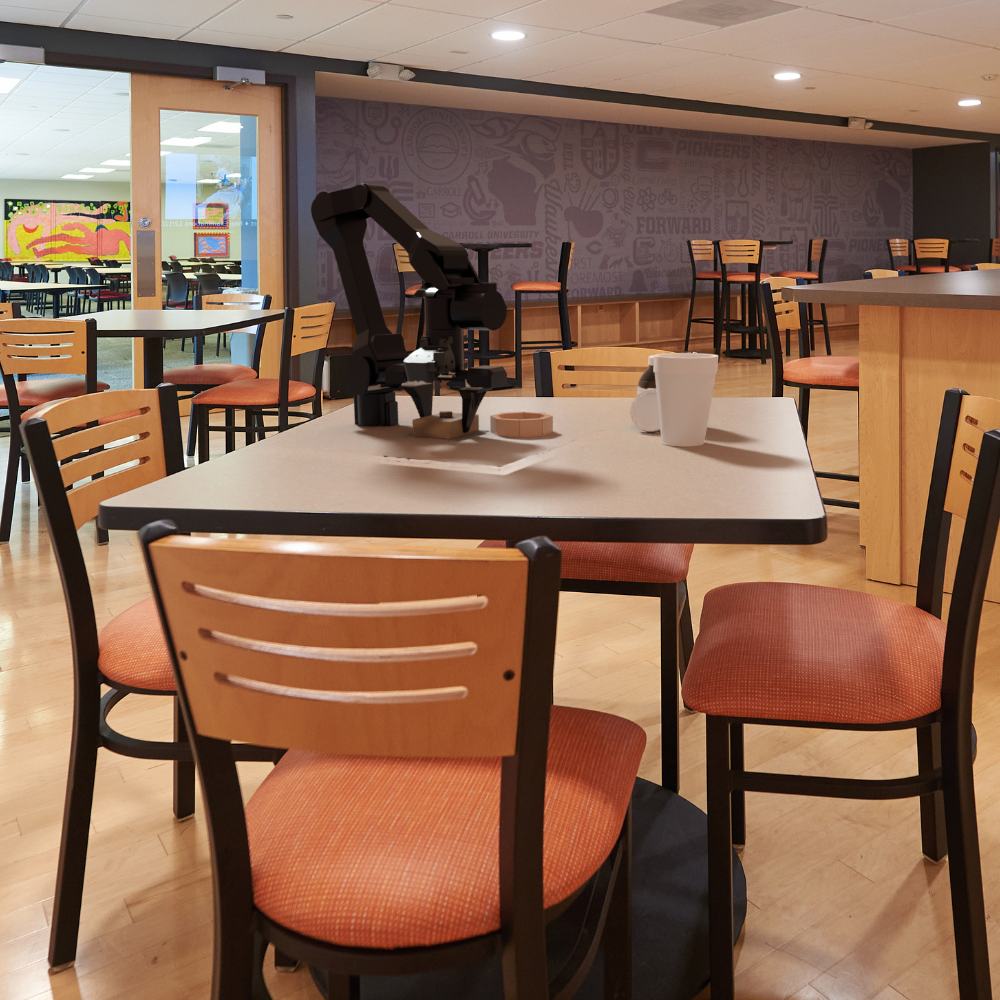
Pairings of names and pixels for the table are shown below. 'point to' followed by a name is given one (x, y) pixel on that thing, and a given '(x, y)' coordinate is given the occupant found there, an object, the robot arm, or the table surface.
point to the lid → (442, 425)
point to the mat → (454, 437)
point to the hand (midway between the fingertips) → (446, 431)
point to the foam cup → (684, 396)
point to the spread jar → (646, 402)
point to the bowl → (521, 424)
